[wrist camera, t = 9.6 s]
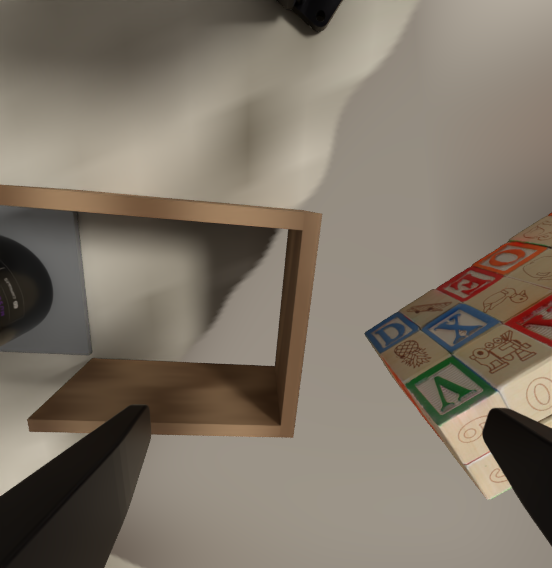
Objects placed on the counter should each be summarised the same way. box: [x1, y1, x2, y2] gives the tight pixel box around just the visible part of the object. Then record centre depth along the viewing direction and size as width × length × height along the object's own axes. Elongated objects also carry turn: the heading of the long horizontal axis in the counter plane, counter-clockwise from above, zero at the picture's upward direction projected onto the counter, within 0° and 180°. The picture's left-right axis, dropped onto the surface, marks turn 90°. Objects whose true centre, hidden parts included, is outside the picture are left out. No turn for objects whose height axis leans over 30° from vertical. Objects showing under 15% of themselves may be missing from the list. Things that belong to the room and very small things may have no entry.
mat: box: [0, 205, 92, 355], centre depth 18 cm, size 10×10×1 cm
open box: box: [0, 185, 322, 438], centre depth 17 cm, size 14×13×6 cm
